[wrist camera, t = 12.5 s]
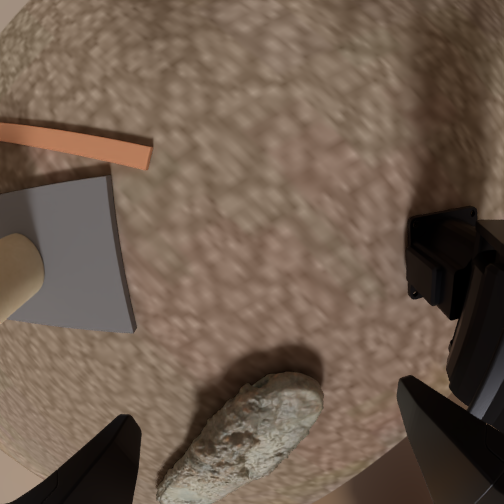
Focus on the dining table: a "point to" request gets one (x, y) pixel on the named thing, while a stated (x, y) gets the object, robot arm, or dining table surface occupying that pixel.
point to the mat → (72, 254)
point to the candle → (18, 273)
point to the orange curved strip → (78, 144)
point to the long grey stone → (245, 439)
